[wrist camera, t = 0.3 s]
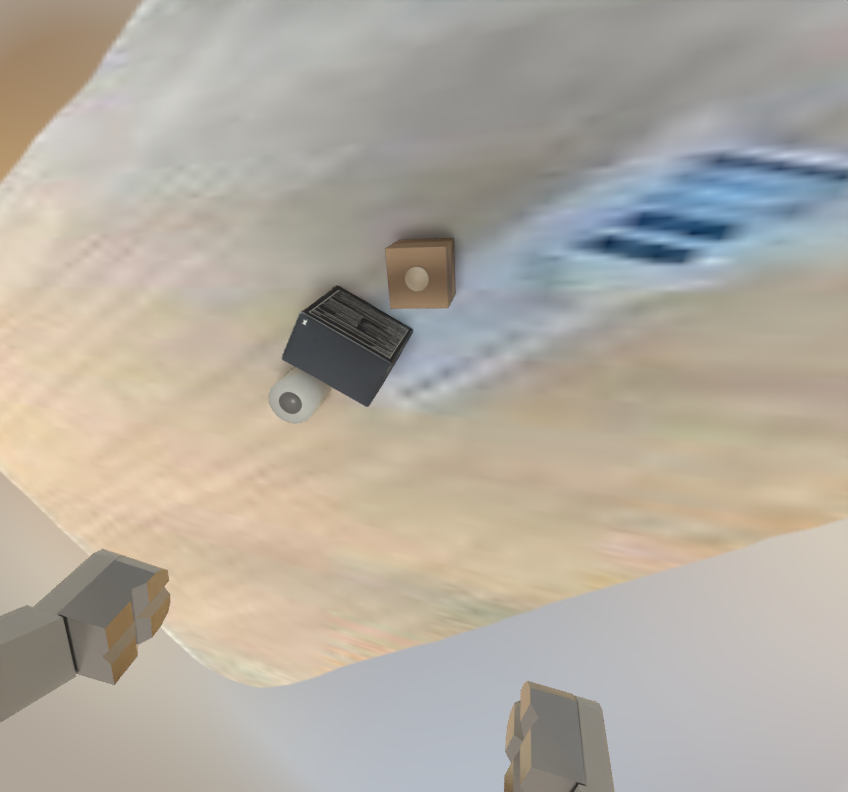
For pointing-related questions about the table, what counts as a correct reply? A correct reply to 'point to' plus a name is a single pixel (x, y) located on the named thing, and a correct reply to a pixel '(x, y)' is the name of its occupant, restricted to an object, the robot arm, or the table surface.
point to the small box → (346, 344)
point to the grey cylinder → (297, 396)
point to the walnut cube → (421, 273)
